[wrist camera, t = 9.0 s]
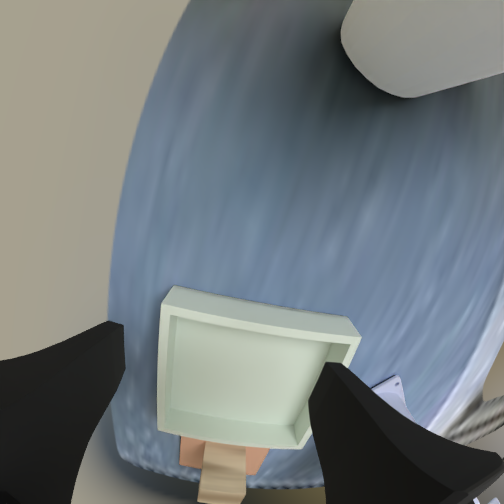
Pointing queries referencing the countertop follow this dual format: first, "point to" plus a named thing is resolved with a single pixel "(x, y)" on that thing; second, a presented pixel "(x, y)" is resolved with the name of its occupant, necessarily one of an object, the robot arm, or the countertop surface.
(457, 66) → the cup
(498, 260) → the countertop surface
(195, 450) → the terracotta tile
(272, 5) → the countertop surface
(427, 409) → the countertop surface
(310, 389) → the pale green bin
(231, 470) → the birch block
